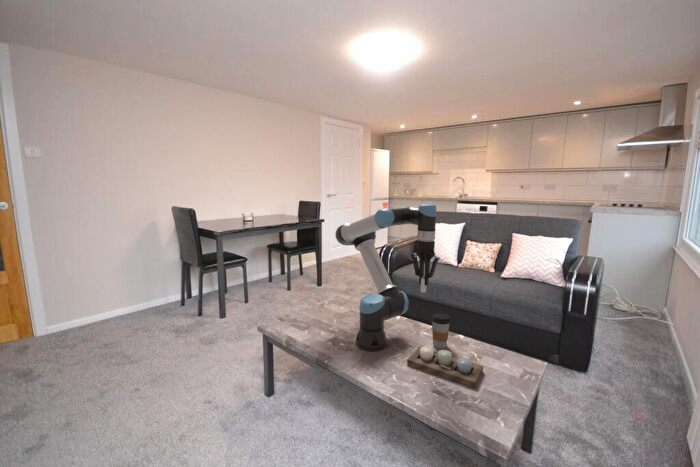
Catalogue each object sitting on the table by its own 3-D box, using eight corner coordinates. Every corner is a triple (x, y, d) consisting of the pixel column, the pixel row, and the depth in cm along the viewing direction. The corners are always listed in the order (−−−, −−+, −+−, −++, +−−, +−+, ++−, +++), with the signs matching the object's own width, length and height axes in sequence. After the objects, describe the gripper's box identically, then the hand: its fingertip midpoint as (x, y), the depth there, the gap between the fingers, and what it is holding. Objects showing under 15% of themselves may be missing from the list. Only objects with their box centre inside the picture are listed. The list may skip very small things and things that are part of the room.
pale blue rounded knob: (455, 371, 130) (455, 362, 130) (458, 365, 135) (459, 356, 134) (468, 376, 127) (469, 366, 127) (472, 369, 132) (473, 360, 131)
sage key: (435, 363, 135) (436, 354, 134) (440, 357, 139) (440, 348, 138) (449, 367, 132) (449, 358, 131) (453, 361, 136) (453, 352, 135)
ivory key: (417, 359, 139) (418, 350, 139) (422, 353, 144) (423, 345, 143) (430, 363, 136) (430, 354, 136) (434, 357, 141) (435, 348, 140)
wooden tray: (407, 364, 138) (407, 359, 138) (419, 351, 149) (419, 346, 149) (474, 388, 123) (475, 382, 122) (482, 371, 133) (483, 366, 133)
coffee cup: (449, 350, 150) (451, 320, 147) (431, 348, 151) (432, 318, 149) (447, 342, 158) (449, 313, 155) (430, 340, 159) (431, 311, 157)
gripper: (408, 239, 140) (406, 290, 144) (437, 243, 133) (434, 297, 137) (415, 236, 146) (413, 286, 150) (443, 240, 139) (440, 292, 143)
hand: (423, 291), depth 144 cm, fingers closed
